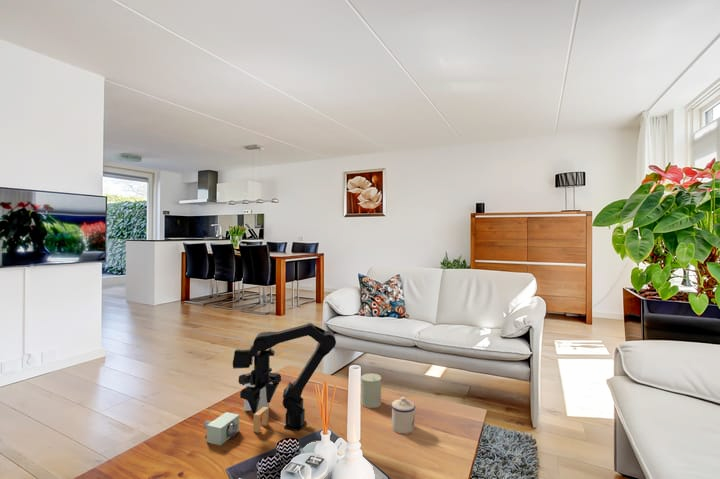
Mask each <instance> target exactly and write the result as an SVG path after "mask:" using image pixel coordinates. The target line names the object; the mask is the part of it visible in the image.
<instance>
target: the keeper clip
mask: <svg viewBox="0 0 720 479" xmlns="http://www.w3.org/2000/svg"><path fill="white" fill-rule="evenodd" d="M268 425H269V409H268V407H263V408H261V409H260V410H258V411H256V413H255V414H253V429H252V430H253V433H257V434H258V433H260V432H261V426H268Z"/></svg>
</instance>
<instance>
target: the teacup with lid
mask: <svg viewBox="0 0 720 479" xmlns="http://www.w3.org/2000/svg"><path fill="white" fill-rule="evenodd" d="M415 409H416V404H415V403H414V402H413V401H411V400H409V399H407V398H406V397H405V396H401V397H400V399H399V398H398V399H395V400H393V401H392V402H391V428H392V429H393V431H394V432H396V433H398V434H403V435H404V434H410V433H412V432H414V430H415V412H416V411H415Z"/></svg>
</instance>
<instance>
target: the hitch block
mask: <svg viewBox="0 0 720 479" xmlns="http://www.w3.org/2000/svg"><path fill="white" fill-rule="evenodd" d="M231 423H236V424H237V425H238V430H237V433H238V432H239V431H240V414H237V413H234V412H233V413H232V412H228V411H226V412H224V413H222V414H221V415H219V416H218V417H216V418H215V419H213V420H212V422H211V423H209V424H208V425H207V428H206V443H209V444H213V445H217V446H222V445H223V444H224V443H225V442H227V441H228V440H230V439H231V438H232V437H228V436H227V434H226V431H227V426H228V425H230V424H231Z"/></svg>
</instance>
